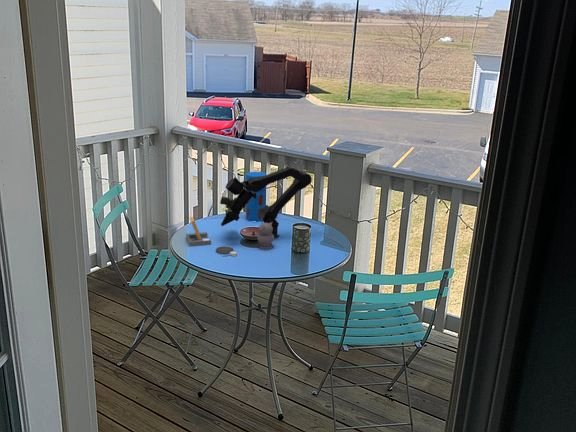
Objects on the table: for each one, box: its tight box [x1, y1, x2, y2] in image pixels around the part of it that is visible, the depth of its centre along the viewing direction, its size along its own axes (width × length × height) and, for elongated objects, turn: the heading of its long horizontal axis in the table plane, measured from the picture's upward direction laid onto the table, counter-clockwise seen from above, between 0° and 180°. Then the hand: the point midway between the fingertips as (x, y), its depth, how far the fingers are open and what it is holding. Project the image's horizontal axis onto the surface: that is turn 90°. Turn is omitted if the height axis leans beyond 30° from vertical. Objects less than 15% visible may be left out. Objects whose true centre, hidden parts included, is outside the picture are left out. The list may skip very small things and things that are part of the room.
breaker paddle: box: [189, 216, 203, 240], centre depth 264 cm, size 2×6×11 cm, turn 17°
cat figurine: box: [256, 222, 275, 250], centre depth 263 cm, size 8×8×12 cm
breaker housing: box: [185, 231, 212, 247], centre depth 266 cm, size 10×11×3 cm
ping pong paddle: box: [215, 245, 238, 258], centre depth 256 cm, size 10×8×2 cm
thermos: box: [245, 171, 267, 223], centre depth 298 cm, size 11×11×25 cm
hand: (221, 225), depth 268 cm, fingers closed
